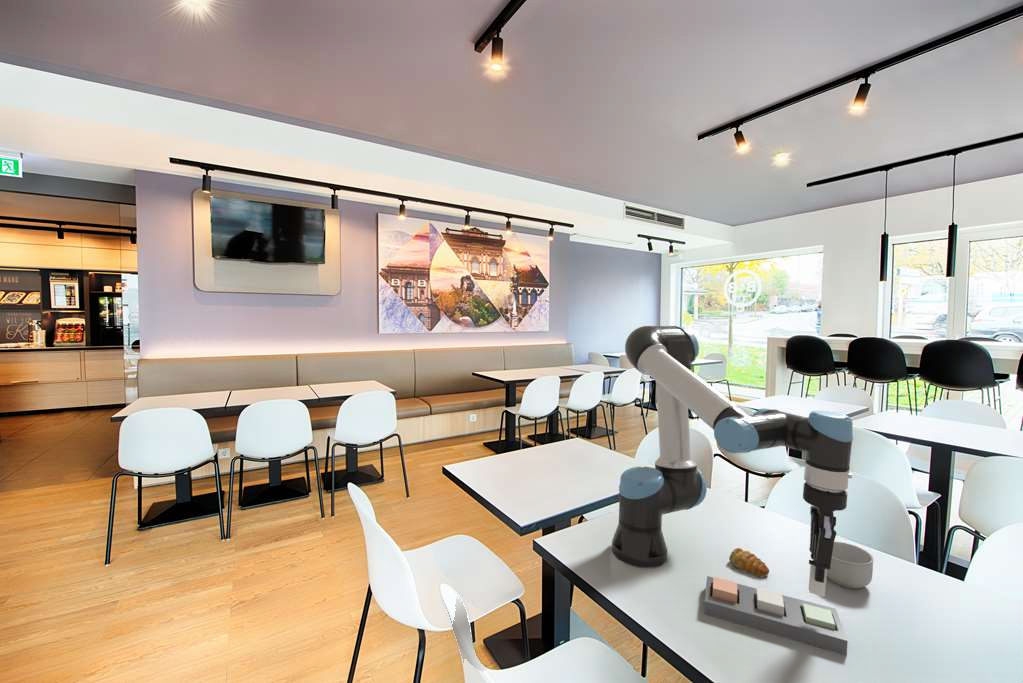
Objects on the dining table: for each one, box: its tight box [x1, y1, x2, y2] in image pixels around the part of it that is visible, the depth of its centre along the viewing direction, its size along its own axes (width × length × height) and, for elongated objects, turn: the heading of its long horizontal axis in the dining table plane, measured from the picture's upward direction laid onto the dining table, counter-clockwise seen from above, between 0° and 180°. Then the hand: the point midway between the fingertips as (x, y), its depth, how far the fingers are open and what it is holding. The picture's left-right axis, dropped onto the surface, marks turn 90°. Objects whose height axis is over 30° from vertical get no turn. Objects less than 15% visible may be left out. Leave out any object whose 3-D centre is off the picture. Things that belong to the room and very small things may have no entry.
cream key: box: [756, 587, 784, 616], centre depth 98 cm, size 5×5×2 cm
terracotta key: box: [713, 576, 738, 603], centre depth 102 cm, size 5×5×2 cm
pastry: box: [728, 547, 770, 578], centre depth 117 cm, size 9×7×4 cm
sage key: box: [802, 603, 835, 630], centre depth 94 cm, size 5×5×2 cm
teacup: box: [827, 541, 875, 590], centre depth 114 cm, size 14×11×8 cm
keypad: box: [703, 575, 848, 656], centre depth 98 cm, size 26×11×3 cm, turn 63°
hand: (816, 592), depth 94 cm, fingers closed
